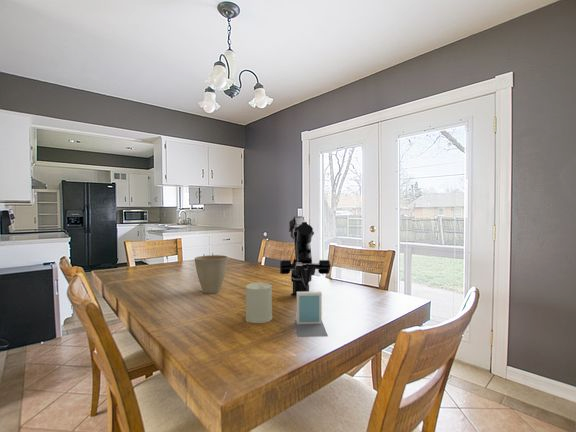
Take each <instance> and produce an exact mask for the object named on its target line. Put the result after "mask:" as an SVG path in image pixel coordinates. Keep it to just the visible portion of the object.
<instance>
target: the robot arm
mask: <svg viewBox="0 0 576 432" xmlns="http://www.w3.org/2000/svg"><path fill="white" fill-rule="evenodd" d="M292 218H293V219H291V220H290V221H289V224H288V232H289V233H290V237H291V239H293V244H294V245H293V246H294V257H295V258H294V259H293V262H291V261H292V260H291V259H281V260H280V262H279V273H280V275H289V274H290V281H291V283H292V293H290V296H296V297H297V292H310V284H309V283H311V281H312V276H315V273H316V270H317V271H318V273H319V274H320V275H328V274H330V272H331V271H330V270H331V266H332V263H331V261H330V259H319V262H317V263H313V258H312V248H311V246H312V245H311V242H312V237H313V235H315V232H314V229H313V228H314V227H312V225H310V224H309V223H308V222H307V221H306V220H305V217H304V216H302V215H301V216H300V215H299V216H298V215H295V216H293V217H292Z"/></svg>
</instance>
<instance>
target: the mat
mask: <svg viewBox="0 0 576 432" xmlns="http://www.w3.org/2000/svg"><path fill="white" fill-rule="evenodd" d="M294 324H295V330H296V331H295V332H296V335H297V338H309V337H310V338H311V337H313V338H315V337H318V338H319V337H329V335H328V333H327V331H326V327H325V326H324V322H323V321H322V324H297V319H295V320H294Z"/></svg>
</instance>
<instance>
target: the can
mask: <svg viewBox="0 0 576 432" xmlns="http://www.w3.org/2000/svg"><path fill="white" fill-rule="evenodd" d="M271 320H273V285H272V284H271V283H268V282H251V283H248V284H246V285H245V322H246V323H253V324H263V323H268V322H270V321H271Z"/></svg>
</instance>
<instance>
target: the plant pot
mask: <svg viewBox="0 0 576 432" xmlns="http://www.w3.org/2000/svg"><path fill="white" fill-rule="evenodd" d="M228 259H229V256H227V255H222V254H221V255H219V254H214V255H213V254H211V255H201V256H196V257H194V263H195V269H196V273H197V274H196V275H197V277H198V281H199V285H200V287H201V290H202V292H203V293H204V294H209V295H210V294H218V293H219V292H221V290H222V286H223V283H224V280H225V277H226V273H227V272H226V271H227V267H228V261H229V260H228Z"/></svg>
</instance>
